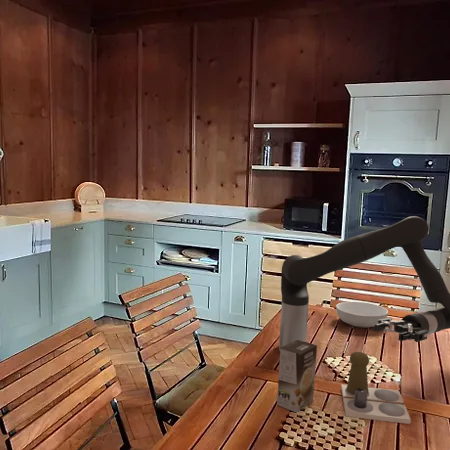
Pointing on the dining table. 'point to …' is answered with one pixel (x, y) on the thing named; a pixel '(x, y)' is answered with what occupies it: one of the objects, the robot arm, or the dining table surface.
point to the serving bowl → (361, 313)
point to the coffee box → (296, 375)
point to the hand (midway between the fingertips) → (387, 332)
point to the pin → (360, 398)
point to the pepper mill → (358, 372)
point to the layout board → (377, 405)
